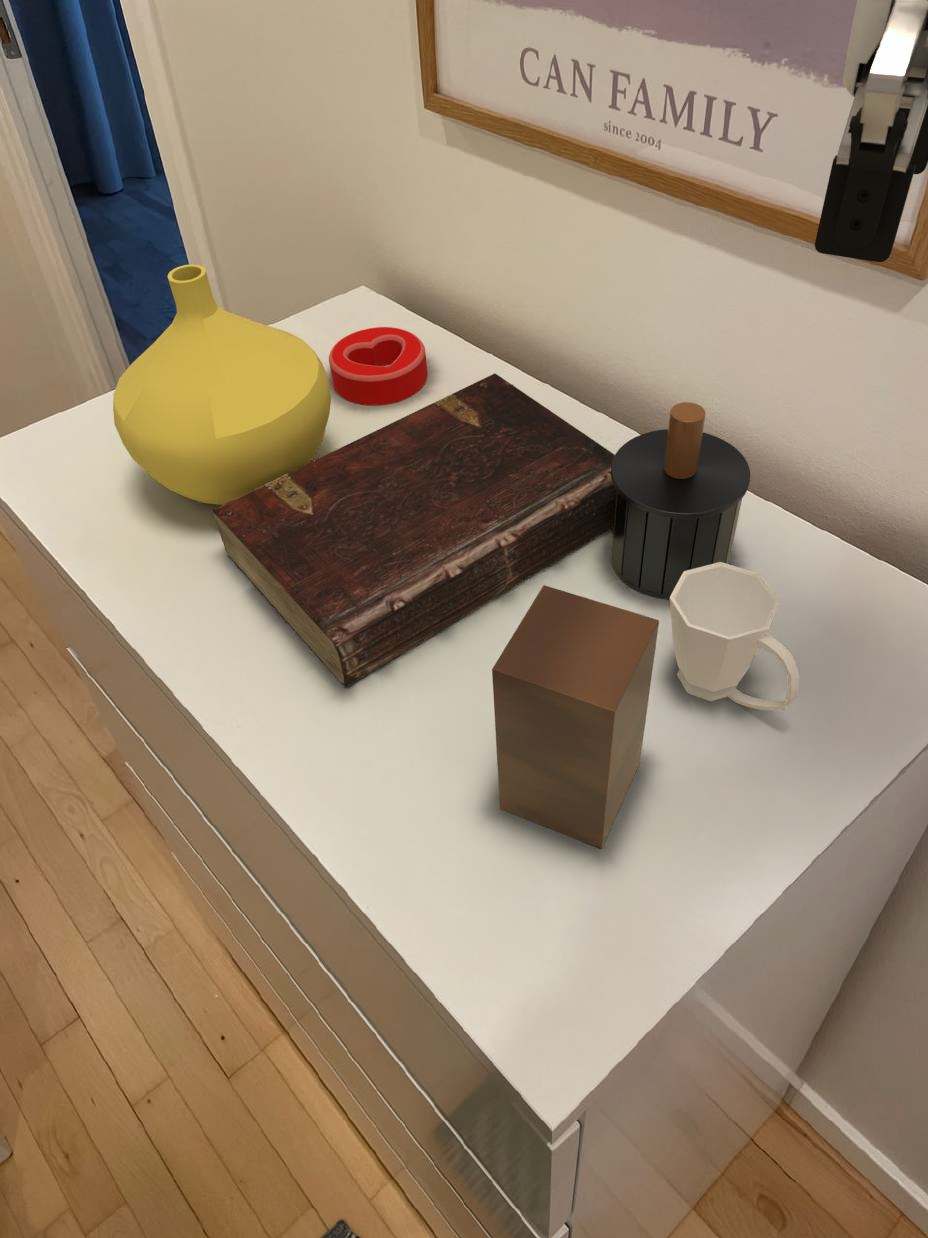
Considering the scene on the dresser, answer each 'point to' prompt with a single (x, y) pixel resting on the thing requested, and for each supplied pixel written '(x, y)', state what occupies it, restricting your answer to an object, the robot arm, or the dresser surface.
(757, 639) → the cup
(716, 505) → the lid
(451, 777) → the dresser surface
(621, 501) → the dark grey slatted bucket
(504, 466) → the book
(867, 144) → the robot arm
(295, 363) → the vase
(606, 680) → the stand
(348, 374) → the decorative ornament
